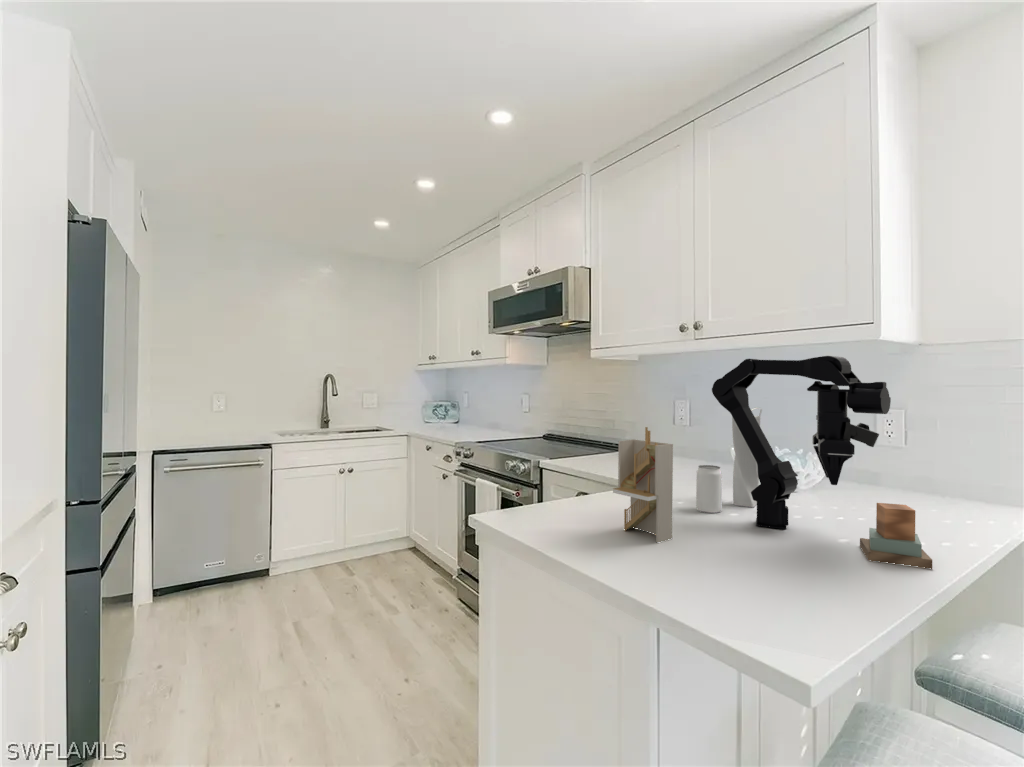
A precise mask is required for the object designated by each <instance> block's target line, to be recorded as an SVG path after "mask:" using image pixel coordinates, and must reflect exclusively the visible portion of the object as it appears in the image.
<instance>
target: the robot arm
mask: <svg viewBox="0 0 1024 767" xmlns="http://www.w3.org/2000/svg"><path fill="white" fill-rule="evenodd" d="M759 375H777V376H780V375H781V376H799V377H803V378H806V379H810V380H811V379H812V380H815V381H814V382H813V383H812V384H811V385H810V386H808V387H807V388H806V391H808V392H817V394H816V395H817V398H816V400H817V405H816V406H817V407H816V409H817V410H816V411H817V412H816V413H817V415H816V414H815V415H816V416H815V417H816V418H815V419H816V426H817V427H816V433H815V434H813V435H812V445H813V449H814V451H815V454H816V456H817V458H818V460H819V463H820V465H821V467H822V470H823V474H824V475H825V477H826V478H827V479H828V480H829V482H830V485H832V486H838V484H839V481H840V480H839V479H840V475H841V473H842V469H843V465H844V463H845V462H846V461H848V460H850V459H852V458H853V455H855V449H856V448H855V445H854V444H853V443H852V442H851V440H854V441H857V442H860V443H863V444H865V445H866V446H868V447H870V448H874V447H875V445H876V442H877V440H878V439H879V436H880V433H878V432H875V431H873V430H870V425H868V424H865V423H862V422H859V423H858V424H856V425H855V424H852V423H851V418H850V417H849V416H848V408H849V409H851V410H852V412H853V413H856V414H872V415H873V414H874V415H876V414H877V415H887V414H888V413H889V411H890V409H891V400H892V399H891V398H892V397H890V393H889V389H888V387H887V382H886V381H874V382H862V381H861V380H860V379H859V378H858V376H857V375H856V374H855V373H854V372H853V371H852V366H851V363H850V361H849V360H848V359H847V358H846V357H843V356H839V355H838V356H837V355H836V356H835V355H821V356H816V357H815V356H814V357H810V358H809V357H808V358H806V359H799V360H798V359H797V360H795V359H794V360H793V359H787V360H786V359H785V360H784V359H757V358H745V359H743V360H742V361H741V362H740V363H739V364H738V365H737V366H735V367H734V368H732V370H730V371H728V372H726V373H725V375H723V376H722V377H720V378H718V379H716V380H715V381H714V383H713V384H712V387H711V393H712V395H713V397H714V398H715V400H717V401H718V403H719V404H720V406H722V407H723V408H724V409H725V410H726V411H728V412H729V414H731V418H732V417H733V419H734V421H735V422H736V424H737V426H738V428H739V430H740V432H741V434H742V436H743V438H744V439H745V441H746V443H747V445H748V447H749V449H750V451H751V453H752V455H753V457H754V458H755V460H756V462H757V467H758V478H759V483H760V484H759V486H758V487H756V488H755V489H754V490H753V491H751V495H752V498H753V500H754V501H757V505H756V518H755V526H756V527H763V528H771V529H780V530H786V529H787V527H788V525H789V506H787V505H786V500H789V499H790V496H791V494H793V493H794V492H795V491H796V490H797V487H798V485H799V482H798V479H797V477H798V476H799V475H798V474H797V473H796V472H795V470H794V469H793V467H792V464H791V462H790V461H789V460H784V461H782V460H781V459H780V458H779V457H777V455H776V453H775V451H774V449H773V447H772V446H771V445H770V442H769V441H768V438H767V436H766V435H765V433H764V432H763V430H762V428H761V425H760V426H759V424H758V422H757V420H756V418H755V417H754V416H755V415H754V413H753V411H751V408H750V405H749V404H750V403H749V393H748V390H747V389H748V388H749V387H750V386H751V385H752V384H753V382H754V381H755V380H756V378H757V377H758V376H759ZM823 382H831V383H832V384H831V383H830V384H829V383H823ZM840 387H849V388H848V389H847V388H845V389H844V388H840Z"/></svg>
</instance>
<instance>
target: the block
mask: <svg viewBox="0 0 1024 767" xmlns="http://www.w3.org/2000/svg"><path fill="white" fill-rule="evenodd" d="M875 518H876V519H875V520H876V525H875V526H876V528H875V529H876V532H878V533H879V534H880V535H881V536H882V537H884V538H886V539H897V540H908V541H915V534H916V509H914V508H912V507H910V506H908V505H906V504H900V503H899V504H898V503H885V502H876V517H875Z"/></svg>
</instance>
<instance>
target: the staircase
mask: <svg viewBox="0 0 1024 767" xmlns="http://www.w3.org/2000/svg"><path fill="white" fill-rule="evenodd" d="M644 432H645V434H644V437H645V438H644V440H643V439H642V440H641V439H635V438H633V439H625V440H624V439H623V440H618V456H617V457H618V458H617V459H618V460H617V461H618V462H617V463H618V467H617V468H618V473H617V474H618V475H617V476H618V477H617V478H618V482H617V483H618V484H617V486H618V487H616V488H615V487H614V488H612V494H613V493H614V494H618V495H622V496H627V497H630V506H629V507H628V508H624V511H623V512H624V514H623V515H624V516H623V517H624V519H623V520H624V521H623V522H624V525H623V526H624V529H625V530H627V529H628V530H630V529H629V528H631V529H633V527H634V528H638V529H641V530H644V531H648V532H651V533H654V534H656V535H655V543H656V542H661V541H665V540H668V539H671V538H672V539H673V492H674V491H673V490H674V489H673V480H674V479H673V478H674V477H673V476H674V475H673V472H674V471H673V470H674V468H673V467H674V466H673V463H674V456H673V455H674V454H673V453H674V444H673V443H669V442H668V443H666V442H660V441H651V430H649V428H648V426H645V428H644ZM672 539H671V540H672ZM668 541H669V540H668ZM665 542H666V541H665ZM661 543H662V542H661Z"/></svg>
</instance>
